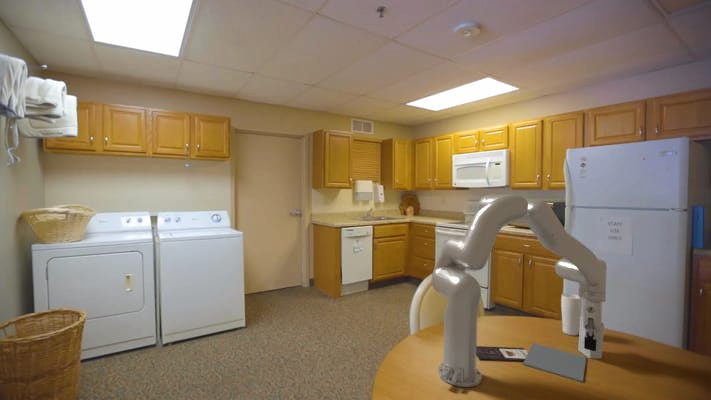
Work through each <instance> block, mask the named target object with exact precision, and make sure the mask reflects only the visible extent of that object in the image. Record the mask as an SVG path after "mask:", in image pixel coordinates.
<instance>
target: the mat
mask: <svg viewBox="0 0 711 400" xmlns="http://www.w3.org/2000/svg"><path fill="white" fill-rule="evenodd" d="M527 352H528V354H527V356H526V358H525V360H524V362H522V365H523V366H526V367H528V368H532V369H536V370H539V371H542V372H545V373H549V374H553V375H555V376H560V377H562V378H566V379H570V380H573V381H576V382H579V383H584V376H585V369H586V361H587V356H586V355H581V354H576V353H573V352H569V351H567V350H565V351H564V350H561V349H557V348H553V347H549V346H546V345H543V344H539V343H535V342H533V343H532V345H531V346H530V349H529V350H528V351H527Z"/></svg>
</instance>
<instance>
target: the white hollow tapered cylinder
mask: <svg viewBox="0 0 711 400" xmlns="http://www.w3.org/2000/svg"><path fill="white" fill-rule="evenodd" d="M560 307H561V308H560V310H561V321H562V322H561V323H562V332H563V334H566V335H568V336H573V337H574V336H579V329H580V317H581V316H582V315H581V313H582V307H583V299H581V298H579V294H578V295H577V294H574V293H561V298H560Z"/></svg>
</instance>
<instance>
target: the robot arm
mask: <svg viewBox="0 0 711 400" xmlns="http://www.w3.org/2000/svg"><path fill="white" fill-rule="evenodd" d="M510 223H516V224H517V223H518V224H526V225H527V226H528V227H529V229H530V230H531V232H532V233H533V234H534V236H535V237H536V239H537V241H538V242H539V243H540V245H541V246H542V247H543V248H545V249H546V250H548V251H550V252H551V253H553V254H555V255H557V256H560V257H562V258H560V259H558V261H557V262H556V263H555V264H554V271H555V273H556V274H557V275H558V276H559V277H560V278H562V279H564V280H567V281H570V282H573V283H576V284H577V283H578V296H579V298H581V300H582V317H583V328H584V329H585V328H586V332H585V337H584V348H585V349H588V350H592V351H596V339H595V335H596V331H599V332H601V323H602V319H603V318H602V317H603V315H602V314H603V309H602V308H603V305H602V304H603V303H605V302H606V297H607V294H606V293H607V263H606V261H605V260H603V259H599V258H597V256H596V254H595V253H594V252H593V251H592V250H591V249H590V248H588V247H587V246H586V245H585V244H583V243H582V242H581V241H580V240H578V239H577V238H575V237H574V236H573V235H571V234H570V233H568V232H567V230H566V229H565V227H564V225H563V224H562V222H561V221H560V220H559V218H558V216H557V215H556V214H555V212H554V210H553V209H552V207H551V206H550V205H549V203H548V202H547V201H545V200H543V199H541V198H540V199H539V198H525V197H524V196H521V195H519V194H514V193H512V194H511V193H506V194H505V193H502V194H501V193H499V194H498V193H497V194H496V193H488V194H486V195H483V196H481V198H480V199H479V201H478V203H477V212H476V213H475V214H474V215H473V217H472V219H471V220H470V222H469V225H468V226H467V228H466V232H465V234H464V235H452V236H451V237H449V238H448V239H447V240H446V241H445V242H444V243H443V246H442V247H441V250H440V253H439V255H438V258H437V261H436V263H435V266H434V268H433V271H432V274H431V284H432V285H431V286H432V288H433V290H435V292H436V293H437V294H439V295H441V296H443V297H444V298H446V299H447V305H446V308H445V309H444V310H445V311H444V314H443V363H441V364H440V365H439V366H438V369H437V370H438V371H437V373H438V376H439V377H440V380H441V381H442V382H444V383H448V384H450V385H453V386H456V387H460V388H472V387H475V386H479V384H480V383H482V380H483V378H482V376H483V375H482V372H480V370H479V369H478V368H477V355H476V354H477V346H478V342H477V340H478V339H477V338H478V311H479V305H480V300H481V297H482V296H481V295H482V287H481V285H480V283H479V281H478V280H477V279H476V278H475V277H474V276H472V275H471V274H469V273H467V272H464V271H462V270H463V268H465V269H468V270H470V271H480V270H482V269H483V268H485V266H486V265H487V263H488V260H489V258H490V255H491V252H492V249H493V248H494V243H495V241H496V239H497V236H498V234H499V232H501V230H502V228H503V227H505V226H506V225H508V224H510ZM588 318H589V319H588ZM593 325H594V329H593ZM587 327H588V328H587ZM592 332H594V333H592Z"/></svg>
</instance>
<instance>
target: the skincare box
mask: <svg viewBox="0 0 711 400" xmlns="http://www.w3.org/2000/svg"><path fill="white" fill-rule="evenodd" d="M588 319H589V318H588ZM587 328H588V327H587ZM604 328H605V324H604V323H601V332H599V331H596V335H595V339H596V351H592V350H588V349H585V348H584V337H585V332H586V328H585V329H584V328H583V316H580V323H579V333H578V346H577V349H578V351H579V352H580V353H581V354H583V356H585V357H586V358H589V359H598V360H599V359H602V356H603V355H602V354H603V345H604V344H603V342H604V332H605V331H604V330H605V329H604ZM593 329H594V325H593ZM592 333H594V332H592Z"/></svg>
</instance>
